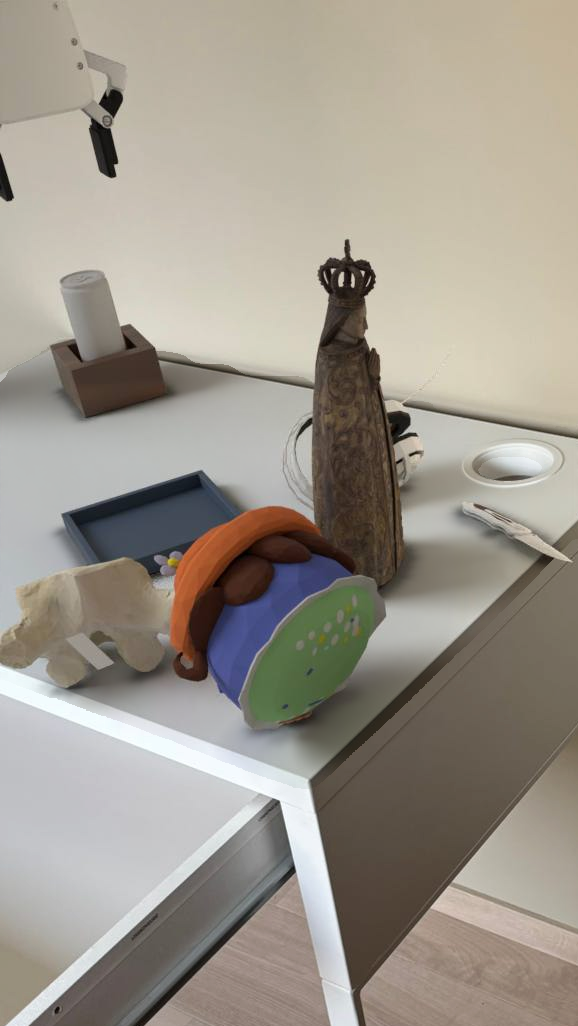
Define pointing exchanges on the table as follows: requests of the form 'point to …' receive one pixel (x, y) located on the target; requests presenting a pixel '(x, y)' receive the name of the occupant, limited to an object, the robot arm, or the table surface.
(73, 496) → the table surface
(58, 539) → the table surface
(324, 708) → the table surface
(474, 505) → the pocket knife
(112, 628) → the decorative object
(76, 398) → the can holder
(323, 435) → the statue
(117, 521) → the tray
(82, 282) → the beverage can
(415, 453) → the headphones
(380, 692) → the table surface
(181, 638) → the toy
